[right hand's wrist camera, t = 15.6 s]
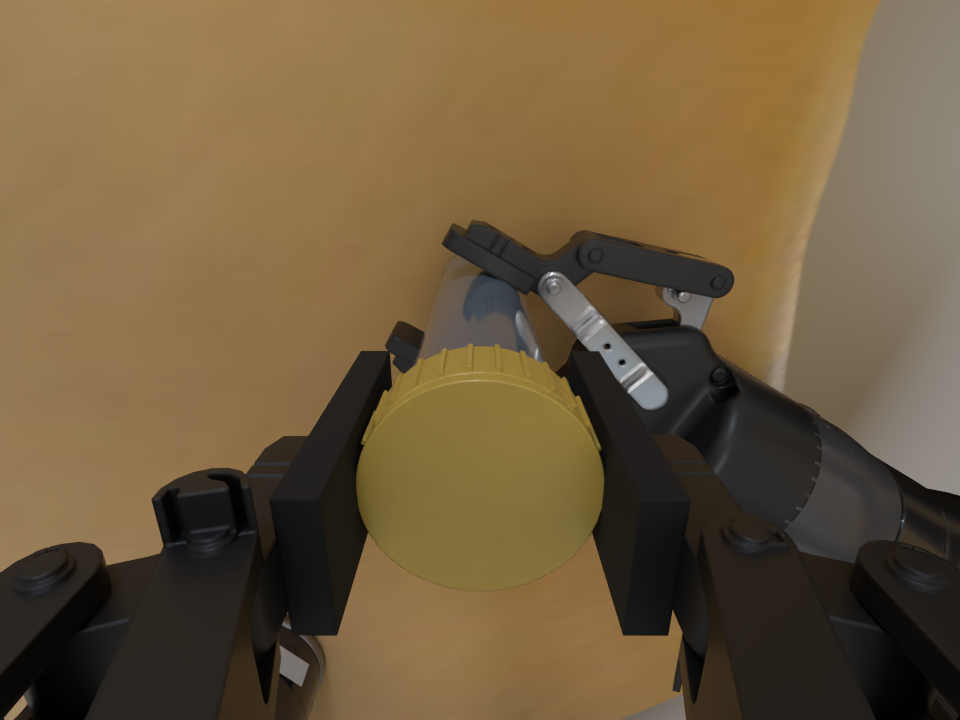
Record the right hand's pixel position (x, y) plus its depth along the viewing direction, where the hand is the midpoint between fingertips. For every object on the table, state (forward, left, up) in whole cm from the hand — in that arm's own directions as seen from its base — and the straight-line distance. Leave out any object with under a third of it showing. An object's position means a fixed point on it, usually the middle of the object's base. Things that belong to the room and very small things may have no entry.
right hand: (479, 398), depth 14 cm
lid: (0, 0, +4) cm, 4 cm away
